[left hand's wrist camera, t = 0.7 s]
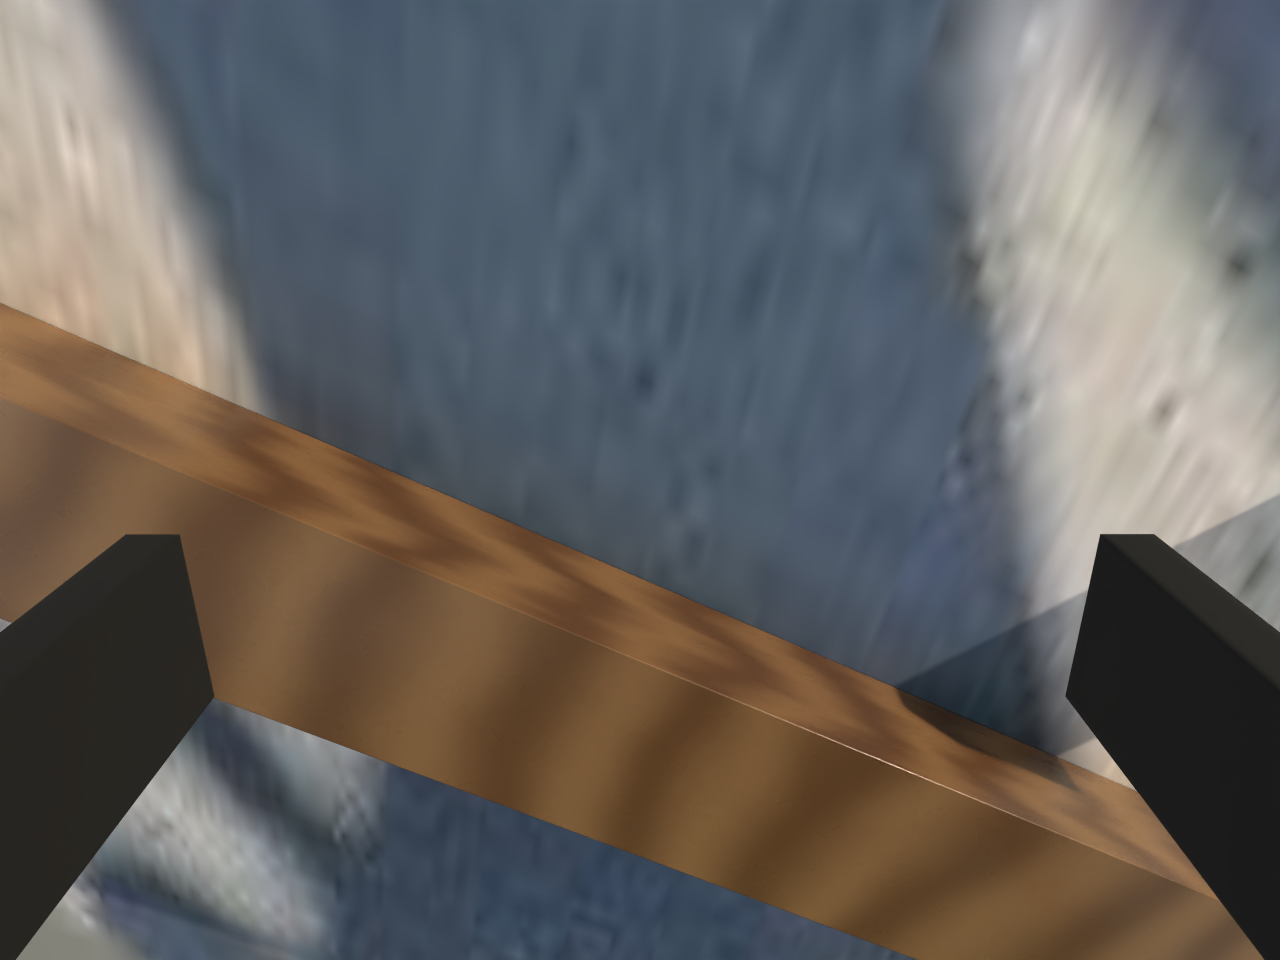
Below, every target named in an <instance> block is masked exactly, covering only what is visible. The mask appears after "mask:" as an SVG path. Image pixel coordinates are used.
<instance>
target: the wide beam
mask: <svg viewBox="0 0 1280 960" xmlns="http://www.w3.org/2000/svg"><path fill="white" fill-rule="evenodd" d="M126 534H180V538H181V543H182V548H183V552H184V557H185V561H186V566H187V571H188V575H189V580H190V585H191V589H192V594H193V599H194V603H195V608H196V612H197V617H198V622H199V626H200V631H201V636H202V640H203V645H204V650H205V654H206V659H207V663H208V668H209V673H210V677H211V682H212V687H213V691H214V698H216V699H218V700H221V701H224V702H226V703H229V704H232V705H234V706H237V707H240V708H243V709H245V710H248V711H251V712H253V713H256V714H259V715H261V716H264V717H267V718H269V719H272V720H275V721H277V722H280V723H283V724H286V725H288V726H291V727H294V728H296V729H299V730H302V731H304V732H307V733H310V734H312V735H315V736H318V737H320V738H323V739H326V740H329V741H331V742H334V743H337V744H339V745H342V746H345V747H347V748H350V749H353V750H355V751H358V752H361V753H363V754H366V755H369V756H372V757H374V758H377V759H380V760H382V761H385V762H388V763H390V764H393V765H396V766H398V767H401V768H404V769H406V770H409V771H412V772H415V773H417V774H420V775H423V776H425V777H428V778H431V779H433V780H436V781H439V782H441V783H444V784H447V785H449V786H452V787H455V788H458V789H460V790H463V791H466V792H468V793H471V794H474V795H476V796H479V797H482V798H484V799H487V800H490V801H492V802H495V803H498V804H501V805H503V806H506V807H509V808H511V809H514V810H517V811H519V812H522V813H525V814H527V815H530V816H533V817H535V818H538V819H541V820H544V821H546V822H549V823H552V824H554V825H557V826H560V827H562V828H565V829H568V830H570V831H573V832H576V833H578V834H581V835H584V836H587V837H589V838H592V839H595V840H597V841H600V842H603V843H605V844H608V845H611V846H613V847H616V848H619V849H621V850H624V851H627V852H629V853H632V854H635V855H638V856H640V857H643V858H646V859H648V860H651V861H654V862H656V863H659V864H662V865H664V866H667V867H670V868H672V869H675V870H678V871H681V872H683V873H686V874H689V875H691V876H694V877H697V878H699V879H702V880H705V881H707V882H710V883H713V884H715V885H718V886H721V887H724V888H726V889H729V890H732V891H734V892H737V893H740V894H742V895H745V896H748V897H750V898H753V899H756V900H758V901H761V902H764V903H767V904H769V905H772V906H775V907H777V908H780V909H783V910H785V911H788V912H791V913H793V914H796V915H799V916H801V917H804V918H807V919H810V920H812V921H815V922H818V923H820V924H823V925H826V926H828V927H831V928H834V929H836V930H839V931H842V932H844V933H847V934H850V935H853V936H855V937H858V938H861V939H863V940H866V941H869V942H871V943H874V944H877V945H879V946H882V947H885V948H887V949H890V950H893V951H896V952H898V953H901V954H904V955H906V956H909V957H912V958H914V959H917V960H1264V959H1263V957H1262V956H1261V955H1260V953H1259V952H1258V951H1257V949H1256V948H1255V947H1254V945H1253V944H1252V943H1251V941H1250V940H1249V939H1248V937H1247V936H1246V935H1245V933H1244V932H1243V931H1242V929H1241V928H1240V927H1239V925H1238V924H1237V923H1236V922H1235V920H1234V919H1233V918H1232V916H1231V915H1230V914H1229V912H1228V911H1227V910H1226V908H1225V907H1224V906H1223V904H1222V903H1221V902H1220V900H1219V899H1218V898H1217V896H1216V895H1215V894H1214V892H1213V891H1212V890H1211V888H1210V887H1209V886H1208V884H1207V883H1206V882H1205V880H1204V879H1203V878H1202V876H1201V875H1200V874H1199V872H1198V871H1197V870H1196V869H1195V867H1194V866H1193V865H1192V863H1191V862H1190V861H1189V859H1188V858H1187V857H1186V855H1185V854H1184V853H1183V851H1182V850H1181V849H1180V847H1179V846H1178V845H1177V843H1176V842H1175V841H1174V839H1173V838H1172V837H1171V835H1170V834H1169V833H1168V831H1167V830H1166V829H1165V827H1164V826H1163V825H1162V823H1161V822H1160V821H1159V819H1158V818H1157V817H1156V816H1155V814H1154V813H1153V812H1152V810H1151V809H1150V808H1149V806H1148V805H1147V804H1146V802H1145V801H1144V800H1143V798H1142V797H1141V796H1140V794H1139V793H1138V792H1136V791H1134V790H1132V789H1129V788H1127V787H1125V786H1122V785H1120V784H1118V783H1116V782H1113V781H1111V780H1109V779H1106V778H1104V777H1102V776H1099V775H1097V774H1095V773H1092V772H1090V771H1088V770H1085V769H1083V768H1081V767H1078V766H1076V765H1074V764H1071V763H1069V762H1067V761H1064V760H1062V759H1060V758H1057V757H1055V756H1053V755H1050V754H1048V753H1046V752H1043V751H1041V750H1039V749H1036V748H1034V747H1032V746H1029V745H1027V744H1025V743H1022V742H1020V741H1018V740H1015V739H1013V738H1011V737H1008V736H1006V735H1004V734H1001V733H999V732H997V731H994V730H992V729H990V728H988V727H985V726H983V725H981V724H978V723H976V722H974V721H971V720H969V719H967V718H964V717H962V716H960V715H957V714H955V713H953V712H950V711H948V710H946V709H943V708H941V707H939V706H936V705H934V704H932V703H929V702H927V701H925V700H922V699H920V698H918V697H915V696H913V695H911V694H908V693H906V692H904V691H901V690H899V689H897V688H894V687H892V686H890V685H887V684H885V683H883V682H880V681H878V680H876V679H873V678H871V677H869V676H866V675H864V674H862V673H859V672H857V671H855V670H853V669H850V668H848V667H846V666H843V665H841V664H839V663H836V662H834V661H832V660H829V659H827V658H825V657H822V656H820V655H818V654H815V653H813V652H811V651H808V650H806V649H804V648H801V647H799V646H797V645H794V644H792V643H790V642H787V641H785V640H783V639H780V638H778V637H776V636H773V635H771V634H769V633H766V632H764V631H762V630H759V629H757V628H755V627H752V626H750V625H748V624H745V623H743V622H741V621H738V620H736V619H734V618H731V617H729V616H727V615H724V614H722V613H720V612H718V611H715V610H713V609H711V608H708V607H706V606H704V605H701V604H699V603H697V602H694V601H692V600H690V599H687V598H685V597H683V596H680V595H678V594H676V593H673V592H671V591H669V590H666V589H664V588H662V587H659V586H657V585H655V584H652V583H650V582H648V581H645V580H643V579H641V578H638V577H636V576H634V575H631V574H629V573H627V572H624V571H622V570H620V569H617V568H615V567H613V566H610V565H608V564H606V563H603V562H601V561H599V560H596V559H594V558H592V557H589V556H587V555H585V554H583V553H580V552H578V551H576V550H573V549H571V548H569V547H566V546H564V545H562V544H559V543H557V542H555V541H552V540H550V539H548V538H545V537H543V536H541V535H538V534H536V533H534V532H531V531H529V530H527V529H524V528H522V527H520V526H517V525H515V524H513V523H510V522H508V521H506V520H503V519H501V518H499V517H496V516H494V515H492V514H489V513H487V512H485V511H482V510H480V509H478V508H475V507H473V506H471V505H468V504H466V503H464V502H461V501H459V500H457V499H455V498H452V497H450V496H448V495H445V494H443V493H441V492H438V491H436V490H434V489H431V488H429V487H427V486H424V485H422V484H420V483H417V482H415V481H413V480H410V479H408V478H406V477H403V476H401V475H399V474H396V473H394V472H392V471H389V470H387V469H385V468H382V467H380V466H378V465H375V464H373V463H371V462H368V461H366V460H364V459H361V458H359V457H357V456H354V455H352V454H350V453H347V452H345V451H343V450H340V449H338V448H336V447H333V446H331V445H329V444H326V443H324V442H322V441H320V440H317V439H315V438H313V437H310V436H308V435H306V434H303V433H301V432H299V431H296V430H294V429H292V428H289V427H287V426H285V425H282V424H280V423H278V422H275V421H273V420H271V419H268V418H266V417H264V416H261V415H259V414H257V413H254V412H252V411H250V410H247V409H245V408H243V407H240V406H238V405H236V404H233V403H231V402H229V401H226V400H224V399H222V398H219V397H217V396H215V395H212V394H210V393H208V392H205V391H203V390H201V389H198V388H196V387H194V386H191V385H189V384H187V383H185V382H182V381H180V380H178V379H175V378H173V377H171V376H168V375H166V374H164V373H161V372H159V371H157V370H154V369H152V368H150V367H147V366H145V365H143V364H140V363H138V362H136V361H133V360H131V359H129V358H126V357H124V356H122V355H119V354H117V353H115V352H112V351H110V350H108V349H105V348H103V347H101V346H98V345H96V344H94V343H91V342H89V341H87V340H84V339H82V338H80V337H77V336H75V335H73V334H70V333H68V332H66V331H63V330H61V329H59V328H57V327H54V326H52V325H50V324H47V323H45V322H43V321H40V320H38V319H36V318H33V317H31V316H29V315H26V314H24V313H22V312H19V311H17V310H15V309H12V308H10V307H8V306H5V305H3V304H1V303H0V618H1V619H3V620H6V621H9V622H11V623H13V622H14V621H16V620H17V619H18V618H19V617H21V616H22V615H23V614H25V613H26V612H27V611H28V610H30V609H31V608H32V607H33V606H35V605H36V604H37V603H39V602H40V601H41V600H42V599H44V598H45V597H46V596H48V595H49V594H50V593H51V592H53V591H54V590H55V589H57V588H58V587H59V586H60V585H62V584H63V583H64V582H65V581H67V580H68V579H69V578H71V577H72V576H73V575H74V574H76V573H77V572H78V571H80V570H81V569H82V568H83V567H85V566H86V565H87V564H89V563H90V562H91V561H92V560H94V559H95V558H96V557H97V556H99V555H100V554H101V553H103V552H104V551H105V550H106V549H108V548H109V547H110V546H112V545H113V544H114V543H115V542H117V541H118V540H119V539H120V538H122V537H123V536H124V535H126Z"/></svg>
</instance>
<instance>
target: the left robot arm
mask: <svg viewBox="0 0 1280 960" xmlns="http://www.w3.org/2000/svg"><path fill="white" fill-rule="evenodd" d="M213 698H214V691H213V687H212V682H211V677H210V673H209V668H208V663H207V659H206V654H205V650H204V645H203V640H202V636H201V631H200V626H199V622H198V617H197V612H196V608H195V603H194V599H193V594H192V589H191V585H190V580H189V575H188V571H187V566H186V561H185V557H184V552H183V548H182V543H181V538H180V534H126V535H124V536H123V537H122V538H120V539H119V540H118V541H117V542H115V543H114V544H113V545H112V546H110V547H109V548H108V549H106V550H105V551H104V552H103V553H101V554H100V555H99V556H97V557H96V558H95V559H94V560H92V561H91V562H90V563H89V564H87V565H86V566H85V567H83V568H82V569H81V570H80V571H78V572H77V573H76V574H74V575H73V576H72V577H71V578H69V579H68V580H67V581H65V582H64V583H63V584H62V585H60V586H59V587H58V588H57V589H55V590H54V591H53V592H51V593H50V594H49V595H48V596H46V597H45V598H44V599H42V600H41V601H40V602H39V603H37V604H36V605H35V606H33V607H32V608H31V609H30V610H28V611H27V612H26V613H25V614H23V615H22V616H21V617H19V618H18V619H17V620H16V621H14V622H13V623H12V624H10V625H9V626H8V627H7V628H5V629H4V630H3V631H1V632H0V960H16V959H17V957H18V956H19V955H20V953H21V952H22V951H23V949H24V948H25V947H26V945H27V944H28V943H29V941H30V940H31V939H32V937H33V936H34V935H35V933H36V932H37V931H38V929H39V928H40V927H41V925H42V924H43V923H44V922H45V920H46V919H47V918H48V916H49V915H50V914H51V912H52V911H53V910H54V908H55V907H56V906H57V904H58V903H59V902H60V900H61V899H62V898H63V896H64V895H65V894H66V892H67V891H68V890H69V888H70V887H71V886H72V884H73V883H74V882H75V880H76V879H77V878H78V876H79V875H80V874H81V872H82V871H83V870H84V869H85V867H86V866H87V865H88V863H89V862H90V861H91V859H92V858H93V857H94V855H95V854H96V853H97V851H98V850H99V849H100V847H101V846H102V845H103V843H104V842H105V841H106V839H107V838H108V837H109V835H110V834H111V833H112V831H113V830H114V829H115V827H116V826H117V825H118V823H119V822H120V821H121V819H122V818H123V817H124V816H125V814H126V813H127V812H128V810H129V809H130V808H131V806H132V805H133V804H134V802H135V801H136V800H137V798H138V797H139V796H140V794H141V793H142V792H143V790H144V789H145V788H146V786H147V785H148V784H149V782H150V781H151V780H152V778H153V777H154V776H155V774H156V773H157V772H158V770H159V769H160V768H161V766H162V765H163V764H164V763H165V761H166V760H167V759H168V757H169V756H170V755H171V753H172V752H173V751H174V749H175V748H176V747H177V745H178V744H179V743H180V741H181V740H182V739H183V737H184V736H185V735H186V733H187V732H188V731H189V729H190V728H191V727H192V725H193V724H194V723H195V721H196V720H197V719H198V717H199V716H200V715H201V713H202V712H203V711H204V710H205V708H206V707H207V706H208V704H209V703H210V702H211V700H212V699H213ZM1066 698H1067V699H1068V700H1069V702H1070V703H1071V704H1072V706H1073V707H1074V708H1075V710H1076V711H1077V712H1078V714H1079V715H1080V716H1081V717H1082V719H1083V720H1084V721H1085V723H1086V724H1087V725H1088V727H1089V728H1090V729H1091V731H1092V732H1093V733H1094V735H1095V736H1096V737H1097V739H1098V740H1099V741H1100V743H1101V744H1102V745H1103V747H1104V748H1105V749H1106V751H1107V752H1108V753H1109V755H1110V756H1111V757H1112V759H1113V760H1114V761H1115V763H1116V764H1117V765H1118V767H1119V768H1120V769H1121V770H1122V772H1123V773H1124V774H1125V776H1126V777H1127V778H1128V780H1129V781H1130V782H1131V784H1132V785H1133V786H1134V788H1135V789H1136V790H1137V792H1138V793H1139V794H1140V796H1141V797H1142V798H1143V800H1144V801H1145V802H1146V804H1147V805H1148V806H1149V808H1150V809H1151V810H1152V812H1153V813H1154V814H1155V816H1156V817H1157V818H1158V819H1159V821H1160V822H1161V823H1162V825H1163V826H1164V827H1165V829H1166V830H1167V831H1168V833H1169V834H1170V835H1171V837H1172V838H1173V839H1174V841H1175V842H1176V843H1177V845H1178V846H1179V847H1180V849H1181V850H1182V851H1183V853H1184V854H1185V855H1186V857H1187V858H1188V859H1189V861H1190V862H1191V863H1192V865H1193V866H1194V867H1195V869H1196V870H1197V871H1198V872H1199V874H1200V875H1201V876H1202V878H1203V879H1204V880H1205V882H1206V883H1207V884H1208V886H1209V887H1210V888H1211V890H1212V891H1213V892H1214V894H1215V895H1216V896H1217V898H1218V899H1219V900H1220V902H1221V903H1222V904H1223V906H1224V907H1225V908H1226V910H1227V911H1228V912H1229V914H1230V915H1231V916H1232V918H1233V919H1234V920H1235V922H1236V923H1237V924H1238V925H1239V927H1240V928H1241V929H1242V931H1243V932H1244V933H1245V935H1246V936H1247V937H1248V939H1249V940H1250V941H1251V943H1252V944H1253V945H1254V947H1255V948H1256V949H1257V951H1258V952H1259V953H1260V955H1261V956H1262V957H1263V959H1264V960H1280V632H1279V631H1277V630H1276V629H1275V628H1273V627H1272V626H1271V625H1270V624H1268V623H1267V622H1266V621H1264V620H1263V619H1262V618H1261V617H1259V616H1258V615H1257V614H1255V613H1254V612H1253V611H1252V610H1250V609H1249V608H1248V607H1247V606H1245V605H1244V604H1243V603H1241V602H1240V601H1239V600H1238V599H1236V598H1235V597H1234V596H1232V595H1231V594H1230V593H1229V592H1227V591H1226V590H1225V589H1223V588H1222V587H1221V586H1220V585H1218V584H1217V583H1216V582H1215V581H1213V580H1212V579H1211V578H1209V577H1208V576H1207V575H1206V574H1204V573H1203V572H1202V571H1200V570H1199V569H1198V568H1197V567H1195V566H1194V565H1193V564H1191V563H1190V562H1189V561H1188V560H1186V559H1185V558H1184V557H1183V556H1181V555H1180V554H1179V553H1177V552H1176V551H1175V550H1174V549H1172V548H1171V547H1170V546H1168V545H1167V544H1166V543H1165V542H1163V541H1162V540H1161V539H1160V538H1158V537H1157V536H1156V535H1154V534H1100V538H1099V543H1098V548H1097V552H1096V557H1095V561H1094V566H1093V571H1092V575H1091V580H1090V585H1089V589H1088V594H1087V599H1086V603H1085V608H1084V612H1083V617H1082V622H1081V626H1080V631H1079V636H1078V640H1077V645H1076V650H1075V654H1074V659H1073V663H1072V668H1071V673H1070V677H1069V682H1068V687H1067V691H1066Z"/></svg>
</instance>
